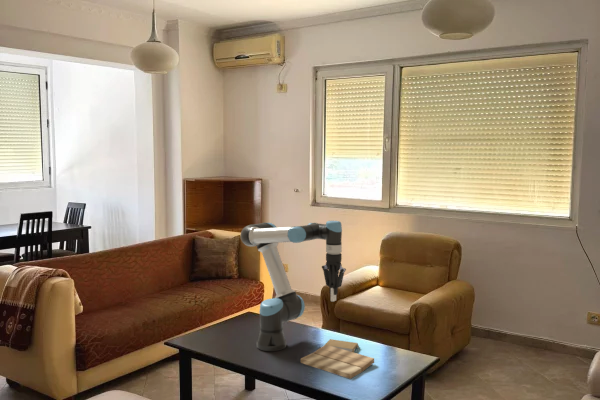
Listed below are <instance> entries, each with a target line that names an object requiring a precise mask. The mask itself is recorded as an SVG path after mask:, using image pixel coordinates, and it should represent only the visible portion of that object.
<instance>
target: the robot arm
mask: <svg viewBox="0 0 600 400" xmlns="http://www.w3.org/2000/svg"><path fill="white" fill-rule="evenodd" d="M342 236H343V226H342V222H341V221H340V220H328V221H326V223H318V222H309V223H307V224H306V225H296V226H282V227H281V226H280V227H279V226H276V225H275V224H274V223H272V222H262V223H255V224H249V225H246V226H244V227H243V228H242V230H241V232H240V240H241V242H242V244H244V245H245V246H247V247H256V249H257V251H258V252H260V253H261V254H262V257H263V260H264V263H265V266H266V269H267V272H268V274H269V277H270V279H271V284H272V286H273V289H274V292H275V294H276V295H275V297H273V298H267V299H264V300H263V301H261V303H260V305H259V311H258V313H259V334H258V336H257V340H256V348H257V349H258V350H260V351H263V352H277V351H281V350H284V349H286V347H287V340H286V338H285V332H284V328H283V327H284V323H287V322H290V321H293V320H296V319H298V318H300V317H302V315H303V314H304V312H305V309H306V306H305V301H304V299H303V298H302V297H301V295H298V294H297V292H296V290H294V289H292V286H291V283H290V281H289V278H288V276H287V275H288V274H287V273H286V270H285V267H284V265H283V261H282V258H281V255H280V252H279V250H278V245H279V243H293V244H298V243H302V242H306V241H312V240H313V241H314V240H325V252H326V254H325V261H326V262H325V264H324V265H322V266H321V269H322V271H323V275H324V281H325V286H327V287H329V292H328V293H329V294H330V302H335V301H337V295H338V290H339V289H338V288H341V287H342V284H343V281H344V280H343V279H344V274H345V272H346V271H347V269H346V268H344V267H343V266H342V265H343V264H342V263H341V262H342V259H343V258H342V257H343V256H342V251H343V250H342V248H343V247H342Z"/></svg>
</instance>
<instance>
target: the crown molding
mask: <svg viewBox="0 0 600 400" xmlns="http://www.w3.org/2000/svg"><path fill="white" fill-rule="evenodd" d="M324 345H329V346H332V347H336V348H339V349H343V350H347V351H350V352H354V353H355V351H356V349H359V347H360V345H359V343H358V342H353V341H346V340H345V341H344V340H339V339H338V340H337V339H332V338H329V340H328V341H327V342H326V343H325V344H324Z"/></svg>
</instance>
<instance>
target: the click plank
mask: <svg viewBox="0 0 600 400" xmlns="http://www.w3.org/2000/svg"><path fill="white" fill-rule="evenodd" d="M312 353H314V354H317V355H321V356H324V357H327V358H331V359H334V360H337V361H340V362H344V363H347V364H350V365H354V366H357V367H360V368H362V372H361V373H363V372H364V371H365V370H367V369H368V368H369V367H370V366H372V365H373V364H374V363H375V358H374V357H371V356H368V355H364V354H360V353H357V352H355V351H354V352H350V351H347V350H343V349H339V348H336V347H332V346H329V345H325V344H324V345H323V346H321V347H319V348H318V349H317V350H314V351H313V352H312Z"/></svg>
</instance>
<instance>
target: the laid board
mask: <svg viewBox="0 0 600 400" xmlns="http://www.w3.org/2000/svg"><path fill="white" fill-rule="evenodd" d="M300 363H301V364H304V365H305V366H309V367H312V368H315V369H318V370H322V371H325V372H328V373H331V374H334V375H337V376H340V377H343V378H346V379H350V380H351V379H353V378H354V377H356V376H358V375H360V374H361V373H363V372H362V368H360V367H357V366H354V365H350V364H347V363H344V362H340V361H337V360H334V359H331V358H327V357H324V356H321V355H317V354H314V353H313V352H312V353H310V354H307V355H305V356H303V357H301V358H300Z"/></svg>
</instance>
